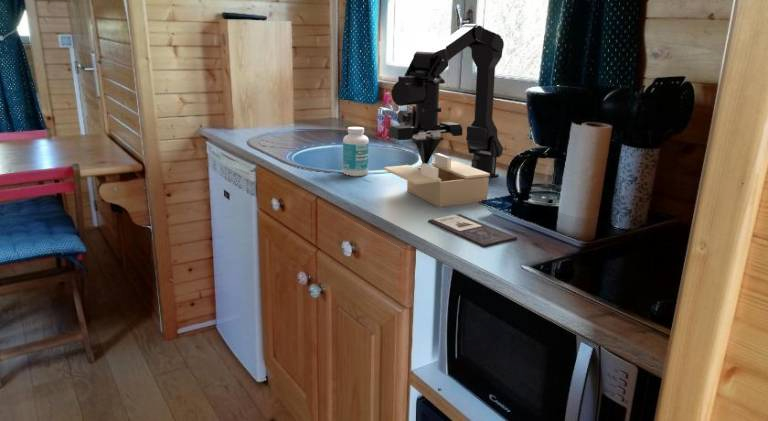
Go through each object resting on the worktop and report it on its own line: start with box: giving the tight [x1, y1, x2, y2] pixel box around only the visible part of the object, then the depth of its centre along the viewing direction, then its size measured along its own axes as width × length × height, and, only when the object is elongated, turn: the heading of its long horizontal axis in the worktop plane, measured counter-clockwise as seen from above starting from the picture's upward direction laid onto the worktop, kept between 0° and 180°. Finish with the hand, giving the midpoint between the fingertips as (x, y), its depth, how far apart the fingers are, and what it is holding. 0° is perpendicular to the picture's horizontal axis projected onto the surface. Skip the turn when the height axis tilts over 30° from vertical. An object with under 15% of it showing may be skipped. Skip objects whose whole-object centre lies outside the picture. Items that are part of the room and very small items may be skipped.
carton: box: [406, 166, 490, 208], centre depth 147 cm, size 14×16×6 cm
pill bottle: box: [342, 126, 370, 177], centre depth 167 cm, size 8×7×14 cm
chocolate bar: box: [427, 213, 518, 248], centre depth 123 cm, size 9×1×18 cm
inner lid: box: [430, 152, 490, 179], centre depth 148 cm, size 7×16×3 cm, turn 27°
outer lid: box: [383, 163, 441, 184], centre depth 141 cm, size 7×16×3 cm, turn 27°
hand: (424, 164), depth 148 cm, fingers closed
